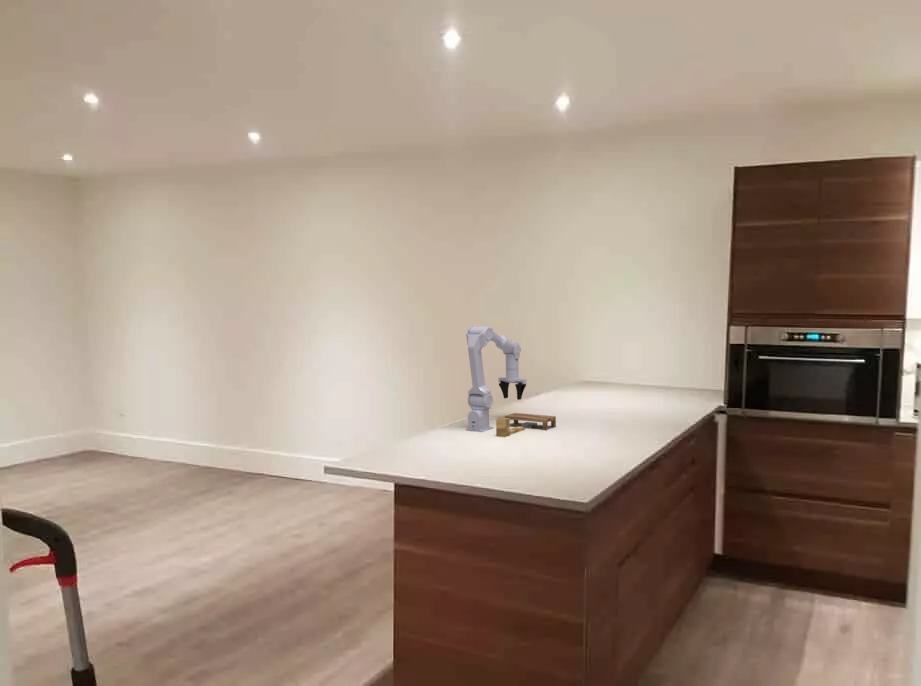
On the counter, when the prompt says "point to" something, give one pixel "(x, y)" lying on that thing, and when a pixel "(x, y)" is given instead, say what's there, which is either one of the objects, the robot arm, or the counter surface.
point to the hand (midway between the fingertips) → (512, 398)
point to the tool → (506, 427)
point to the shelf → (533, 419)
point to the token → (529, 425)
